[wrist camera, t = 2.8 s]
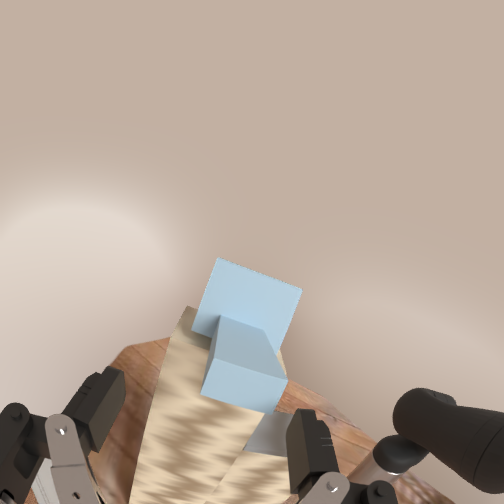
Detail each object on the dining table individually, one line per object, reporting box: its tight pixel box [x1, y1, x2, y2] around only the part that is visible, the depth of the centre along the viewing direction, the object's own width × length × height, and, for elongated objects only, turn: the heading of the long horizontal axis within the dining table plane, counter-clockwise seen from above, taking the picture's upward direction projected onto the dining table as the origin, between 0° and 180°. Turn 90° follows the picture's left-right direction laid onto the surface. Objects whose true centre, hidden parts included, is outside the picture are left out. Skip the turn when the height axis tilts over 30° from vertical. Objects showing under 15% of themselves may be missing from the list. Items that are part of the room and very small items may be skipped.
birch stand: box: [129, 306, 294, 504], centre depth 27 cm, size 20×8×37 cm, turn 91°
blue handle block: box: [191, 258, 303, 415], centre depth 20 cm, size 7×16×6 cm, turn 179°
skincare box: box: [31, 458, 60, 504], centre depth 16 cm, size 8×6×15 cm
